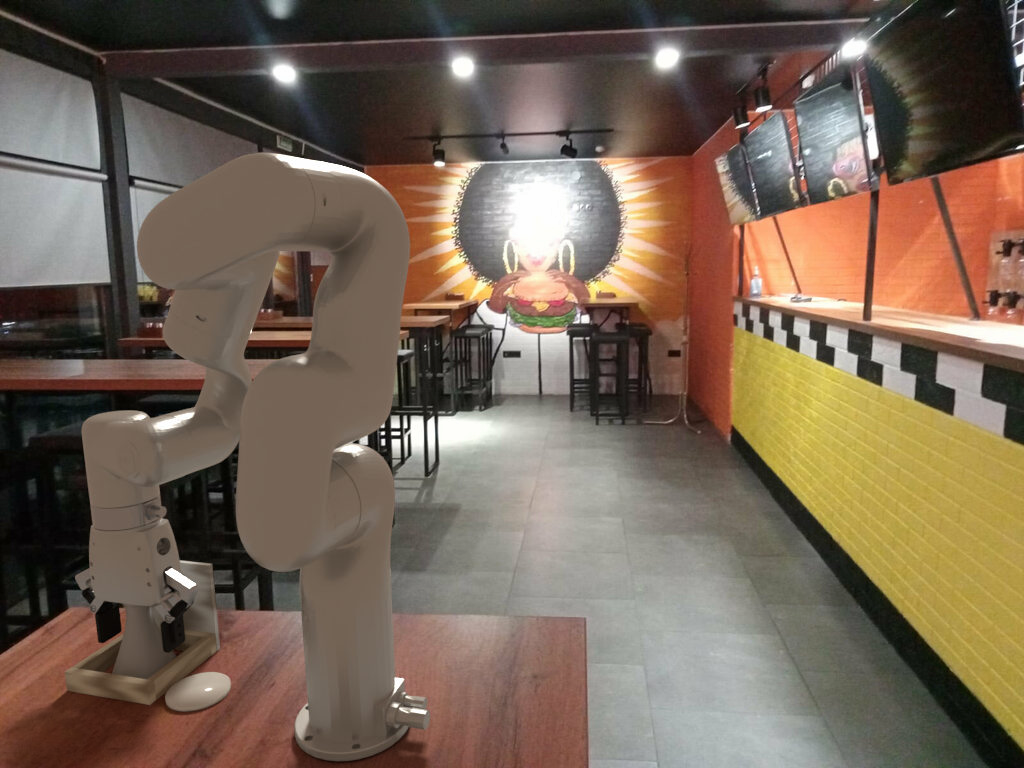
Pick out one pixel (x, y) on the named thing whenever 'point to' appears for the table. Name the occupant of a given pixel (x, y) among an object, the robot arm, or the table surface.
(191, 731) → the table surface
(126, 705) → the table surface
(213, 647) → the open-lid wooden box
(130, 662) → the flask
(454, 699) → the table surface
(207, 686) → the white domed disc
